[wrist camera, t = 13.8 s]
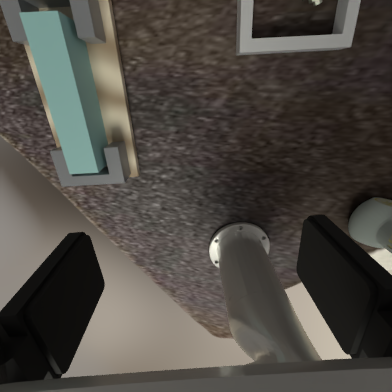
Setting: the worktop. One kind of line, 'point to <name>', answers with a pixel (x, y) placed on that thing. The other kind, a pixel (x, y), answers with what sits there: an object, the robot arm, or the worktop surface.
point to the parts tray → (335, 41)
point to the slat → (68, 88)
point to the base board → (103, 85)
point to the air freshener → (373, 223)
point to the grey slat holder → (94, 34)
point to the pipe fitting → (314, 2)
